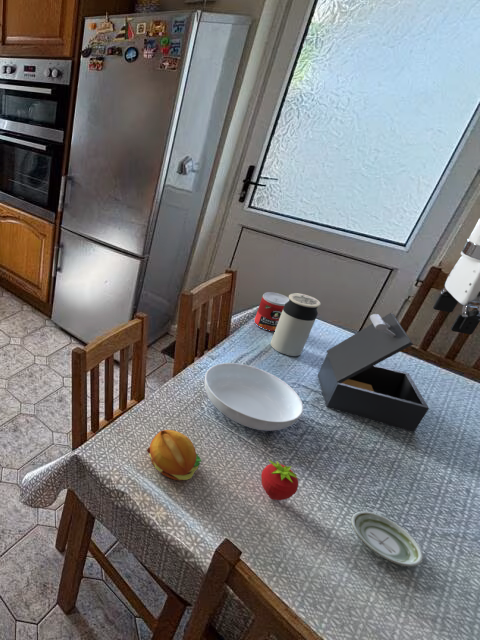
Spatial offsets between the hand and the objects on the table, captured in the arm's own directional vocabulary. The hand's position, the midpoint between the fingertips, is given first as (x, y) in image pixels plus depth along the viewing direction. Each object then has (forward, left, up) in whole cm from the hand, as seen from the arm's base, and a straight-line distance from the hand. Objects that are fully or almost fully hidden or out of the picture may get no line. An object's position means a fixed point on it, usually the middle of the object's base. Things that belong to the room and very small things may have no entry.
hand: (451, 320), depth 93 cm
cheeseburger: (+49, +45, -28) cm, 72 cm away
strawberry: (+30, +43, -28) cm, 60 cm away
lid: (+11, 0, -12) cm, 16 cm away
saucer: (+13, +44, -28) cm, 54 cm away
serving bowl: (+34, +18, -28) cm, 48 cm away
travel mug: (+22, -17, -28) cm, 40 cm away
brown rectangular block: (+9, 0, -24) cm, 26 cm away
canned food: (+26, -29, -28) cm, 48 cm away
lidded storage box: (+7, 0, -28) cm, 29 cm away
